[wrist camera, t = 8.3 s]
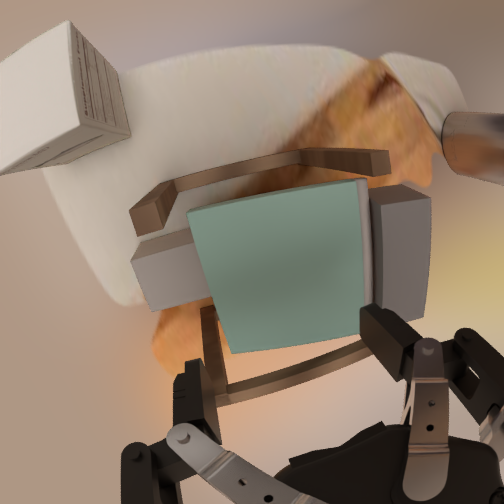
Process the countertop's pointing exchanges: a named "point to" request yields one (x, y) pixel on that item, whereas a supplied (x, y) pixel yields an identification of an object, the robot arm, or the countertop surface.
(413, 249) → the trapdoor
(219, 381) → the frame
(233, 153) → the countertop surface
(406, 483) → the robot arm
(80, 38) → the supplement box
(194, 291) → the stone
